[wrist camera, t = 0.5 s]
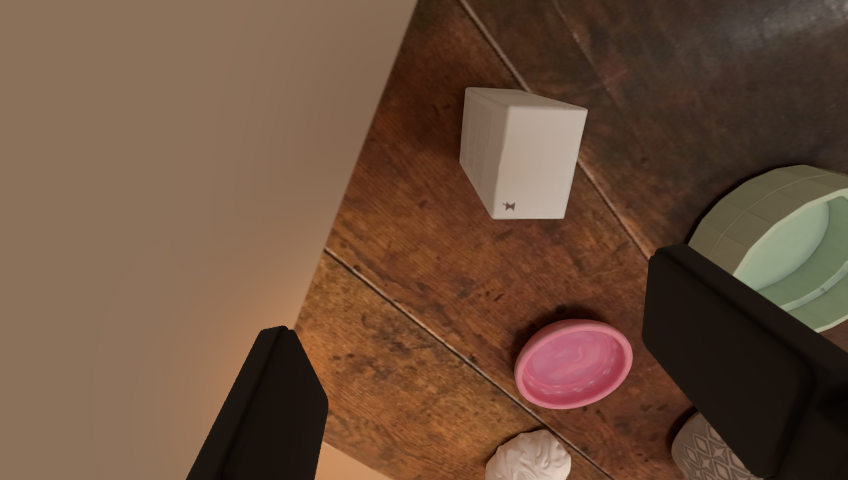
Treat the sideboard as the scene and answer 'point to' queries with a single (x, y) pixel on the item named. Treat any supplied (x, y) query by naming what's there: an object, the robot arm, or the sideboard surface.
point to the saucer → (572, 363)
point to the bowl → (785, 241)
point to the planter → (706, 453)
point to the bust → (530, 459)
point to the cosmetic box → (520, 151)
